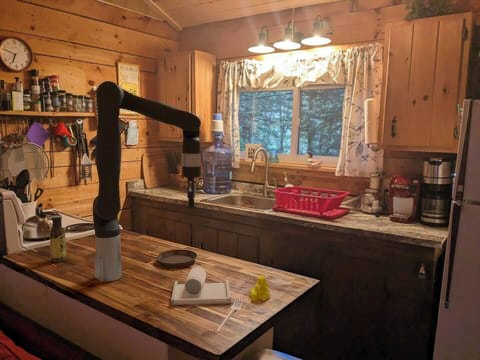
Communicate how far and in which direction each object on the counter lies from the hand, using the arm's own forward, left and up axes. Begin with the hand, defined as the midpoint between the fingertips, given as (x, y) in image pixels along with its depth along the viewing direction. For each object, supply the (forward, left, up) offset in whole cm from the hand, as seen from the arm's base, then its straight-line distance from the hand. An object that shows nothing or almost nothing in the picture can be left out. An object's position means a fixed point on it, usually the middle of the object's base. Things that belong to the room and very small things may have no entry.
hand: (191, 207), depth 154 cm
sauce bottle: (-38, +49, -27) cm, 68 cm away
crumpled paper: (+6, -34, -27) cm, 44 cm away
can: (-4, -11, -24) cm, 26 cm away
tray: (-9, -20, -27) cm, 34 cm away
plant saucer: (+2, +15, -27) cm, 31 cm away
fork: (-11, -39, -28) cm, 49 cm away
